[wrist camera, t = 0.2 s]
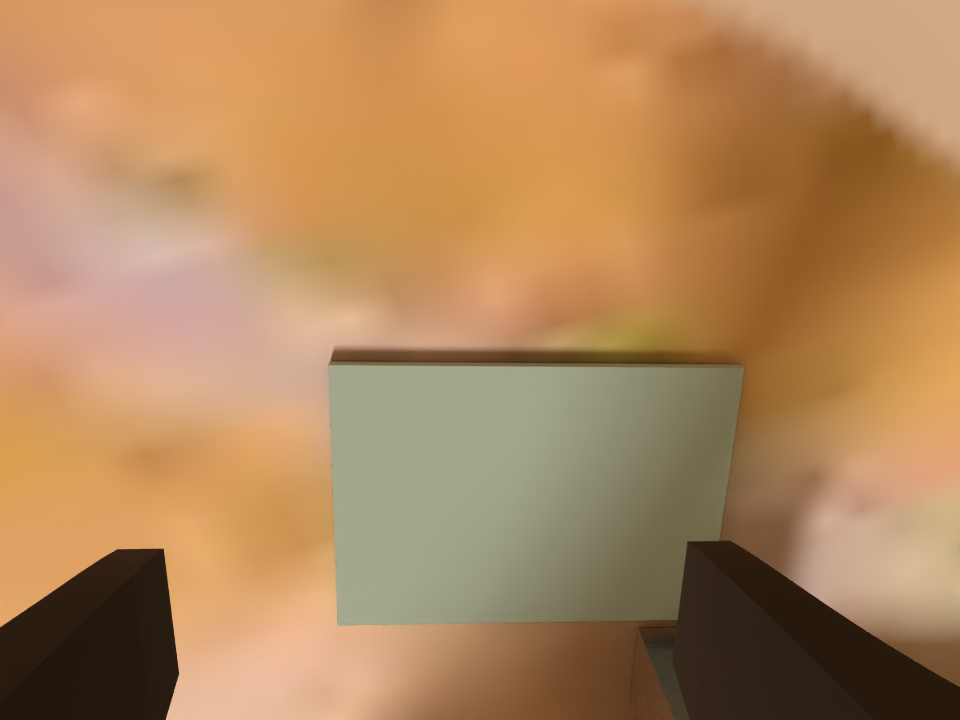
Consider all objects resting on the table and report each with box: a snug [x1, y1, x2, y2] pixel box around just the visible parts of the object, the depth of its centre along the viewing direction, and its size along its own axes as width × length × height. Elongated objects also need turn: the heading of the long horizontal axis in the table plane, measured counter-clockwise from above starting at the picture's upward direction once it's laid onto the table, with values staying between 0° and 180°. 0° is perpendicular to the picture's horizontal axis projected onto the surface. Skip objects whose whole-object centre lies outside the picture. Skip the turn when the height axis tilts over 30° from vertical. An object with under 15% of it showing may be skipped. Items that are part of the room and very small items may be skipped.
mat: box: [328, 361, 745, 626], centre depth 21 cm, size 8×11×1 cm
